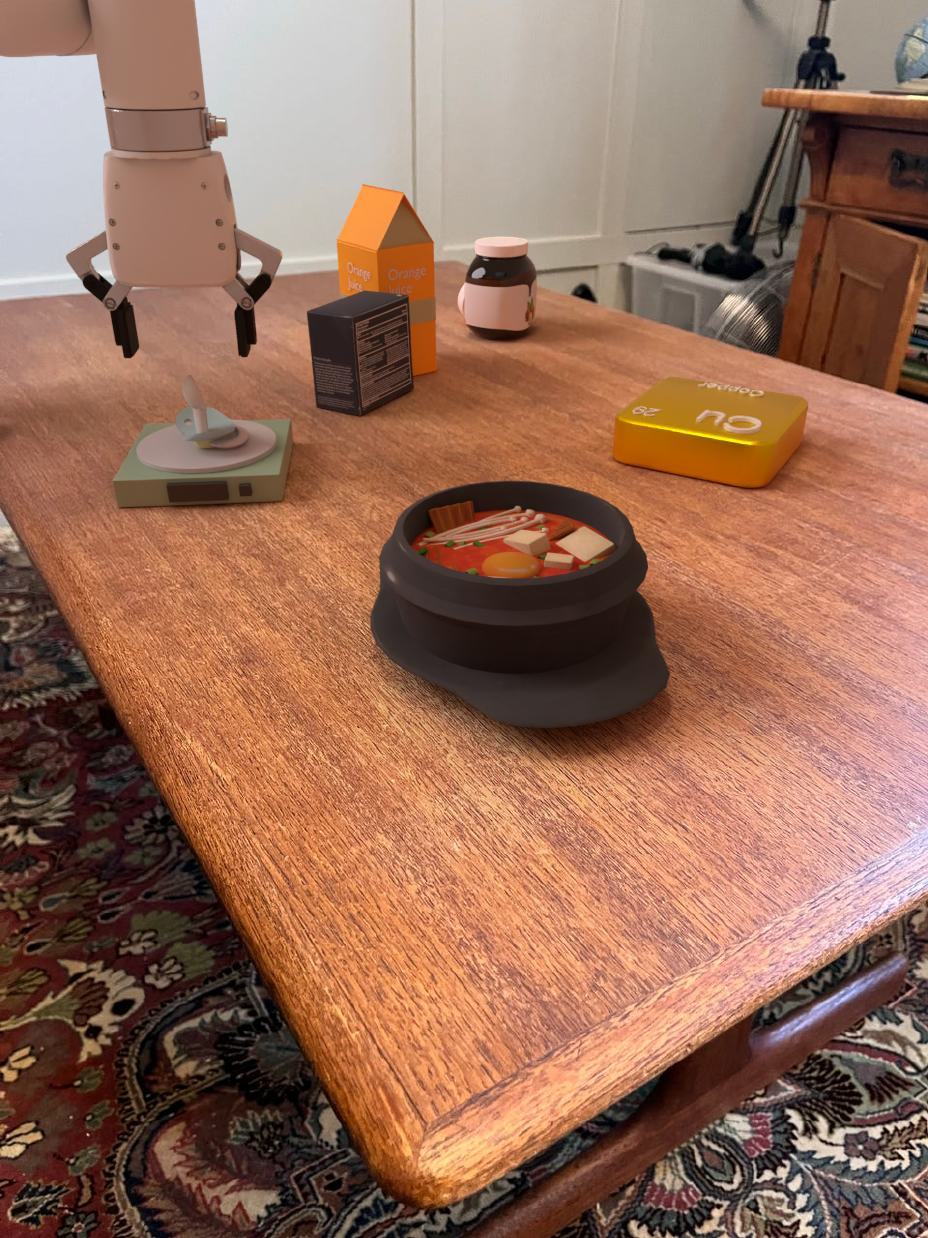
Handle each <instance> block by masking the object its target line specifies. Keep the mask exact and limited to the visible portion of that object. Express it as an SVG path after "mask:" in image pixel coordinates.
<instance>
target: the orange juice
mask: <svg viewBox="0 0 928 1238" xmlns="http://www.w3.org/2000/svg"><path fill="white" fill-rule="evenodd" d="M348 213H349V214H348V215H347V217H346V220H345V221H344V224H343V226H342V229H341V230H340V233H339V235H338V237H337V238H335V239H336V241H335V242H336V252H337V267H338V279H339V299H342V298H345V297H348V296H350V295H353V294H356V293H359V292H361V291H364V290H365V291H374V292H384V293H394V294H403V295H409V314H410V331H411V352H412V369H413V377H416V376H420V375H425V374H428V373H432V372H437V370H438V369H437V367H438V365H437V329H436V325H437V324H436V320H437V307H436V305H437V304H436V287H435V286H436V283H435V242H434V240H433V239H432V237H431V235H430V234H429V232H428V231H427V229H426V227H425V226H424V224H423V222H422V221H421V219H420V217H419V216H418V214H417V212H416V211H415V209H414V207H413V206H412V204H411V203H410V201H409V200H408V198H407V197H406V194H405V193H404V192H403V191H399V190H394V189H388V188H383V187H380V186H379V187H378V186H374V185H368V184H364V183H361V187H360V190H359V191H358V194H357V196H356V198H355V200H354V203H353V204H352V206H351V210H350V211H349V212H348Z"/></svg>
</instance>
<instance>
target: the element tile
mask: <svg viewBox="0 0 928 1238" xmlns="http://www.w3.org/2000/svg"><path fill="white" fill-rule="evenodd" d="M808 411H809V402H808V400H806V399H805V397H803V396H800V395H795V394H788V393H782V392H775V391H769V390H763V389H757V388H749V387H743V386H741V385H739V386H735V385H731V384H724V383H717V382H711V381H705V380H698V379H691V378H686V377H680V376H668V377H665V378H663V379H661V380H658V381H657V382H656V383H655V384H654V385H652V386H651V387H650V388H648V389H647V390H646V391H644V392H643V393H641V394H640V395H639V396H637V397H636V398H635V399H633V400H632V401H630V402H629V403H628V404H626V406H624V407H622V408H621V409H620V410H618V411H617V412H616V413H615V416H614V427H613V440H612V441H613V442H612V458H614V459H615V460H616V461H618V462H619V463H622V464H625V465H629V466H634V467H639V468H642V469H643V468H644V469H649V470H654V471H659V472H664V473H668V474H674V475H679V476H683V477H688V478H693V479H699V480H704V481H708V482H714V483H719V484H722V485H728V486H733V487H737V488H746V489H756V488H763V487H765V486H767V485H769V484H770V483H771V481H772V480H774V478H775V477H776V476H777V474H778V473H779V472H780V471H781V469H782V468H783V467H784V466H785V464H786V463H787V462H788V461H789V460H790V458H791V457H792V455H793V454H794V453H795V452H796V450H797V449H798V448H799V447H800V446H801V444H802V442H803V437H804V432H805V426H806V422H807V416H808Z"/></svg>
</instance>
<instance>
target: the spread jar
mask: <svg viewBox="0 0 928 1238" xmlns="http://www.w3.org/2000/svg"><path fill="white" fill-rule="evenodd" d="M528 253H529V241H528V239H526V238H523V237H518V236H505V235H504V236H501V235H499V236H497V235H496V236H487V237H480V238H478V239H476V240H474V254H475V256H474V258H473V259H472V261H471V262H470V264H469V266H468V268H467V271H466V274H465V279H464V284H463V285H462V287H461V288H460V290H459V293H458V295H457V308H458V310H459V312H460V313H461V314H462V315H463V316H464V319H465V324H466V326H467V328H468V330H469V331H470V332H472V333H473V334H474V335H476V336H477V337H479V338H482V339H485V340H494V341H509V340H516V339H519V338H522V337H525V336H526V335H527V334H528V333H529V331H531V328H532V326H533V323H534V321H535V318H536V317H535V316H536V313H537V312H536V311H537V293H538V291H537V289H538V288H537V287H538V277H537V269H536V267H535V266H536V265H535V264H534V262H533V261H532V259H531V258H530V257H529V255H528Z"/></svg>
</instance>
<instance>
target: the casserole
mask: <svg viewBox="0 0 928 1238" xmlns="http://www.w3.org/2000/svg"><path fill="white" fill-rule="evenodd" d="M642 546H643V545H642V544H641V543H640V542H639V541H638V540H637V537H636V534H635V530H634V526H633V525H632V523H631V522H630V520H629V518H628V516H627V515H625V514H624V512H622V510H620V509H619V508H618V507H617V506H615V505H614V504H612V503H610V502H609V501H608V500H606V499H603V498H601V497H599V496H597V495H595V494H592V493H589V492H587V491H583V490H580V489H577V488H574V487H570V486H565V485H561V484H555V483H550V482H540V481H533V480H493V481H490V480H489V481H482V482H481V481H480V482H474V483H466V484H462V485H457V486H452V487H447V488H445V489H442V490H439V491H435V492H433V493H430V494H428V495H426V496H424V497H422V498H420V499H418V500H416V501H414V502H413V503H412V504H411V505H409V506H408V507H406V508H405V509H404V510H403V512H401V514H400V515H399V516H398V517H397V520H396V521H395V525H394V528H393V530H392V534H391V535H390V537H389V538H388V539H387V540H386V541H385V542H384V544H383V545H382V548H381V551H380V553H379V556H378V563H379V590H378V593H377V595H376V598H375V601H374V604H373V607H372V610H371V612H370V615H369V617H370V618H369V619H370V620H369V621H370V631H371V634H372V636H373V638H374V641H375V643H376V645H377V647H378V648H379V649H380V650H381V651H382V652H383V654H385V656H386V657H387V658H388V660H390V661H392V662H393V663H394V664H396V665H397V666H398V667H400V669H402V670H404V671H406V672H407V673H409V674H412V675H414V676H416V677H418V678H419V679H422V680H424V681H426V682H428V683H431V684H433V685H435V686H437V687H440V688H441V689H444V690H446V691H447V692H450V693H452V694H454V695H456V696H457V697H458V698H460V699H461V700H463V701H464V702H466V704H468V705H470V706H471V707H472V708H474V709H475V710H477V711H479V712H480V713H481V714H483V715H485V716H487V717H488V718H490V719H491V720H493V721H496V722H500V723H503V724H507V725H510V726H514V727H517V728H531V729H533V728H534V729H554V728H555V729H557V728H568V727H569V728H570V727H579V726H583V725H588V724H594V723H598V722H604V721H608V720H610V719H613V718H616V717H619V716H622V715H624V714H625V715H626V714H628V713H630V712H633V711H635V710H637V709H639V708H641V707H642V706H644V705H646V704H648V703H650V702H651V701H653V700H655V698H657V697H658V696H659V695H660V694H661V693H662V692H663V691H665V689H666V688H667V687H668V684H669V680H670V677H671V672H670V670H669V667H668V665H667V662H666V659H665V657H664V655H663V653H662V651H661V649H660V647H659V645H658V644H657V638H656V637H657V636H656V628H655V620H654V619H655V618H654V613H653V611H652V609H651V607H650V605H649V603H648V601H647V599H646V598H645V597H644V596H643V595H642V594H641V592H640V591H638V590H639V588H640V586H641V585H642V584H643V582H645V580H646V576H647V573H648V570H649V563H648V555H647V553H646V551H645V549H644V548H643V547H642Z"/></svg>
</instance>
